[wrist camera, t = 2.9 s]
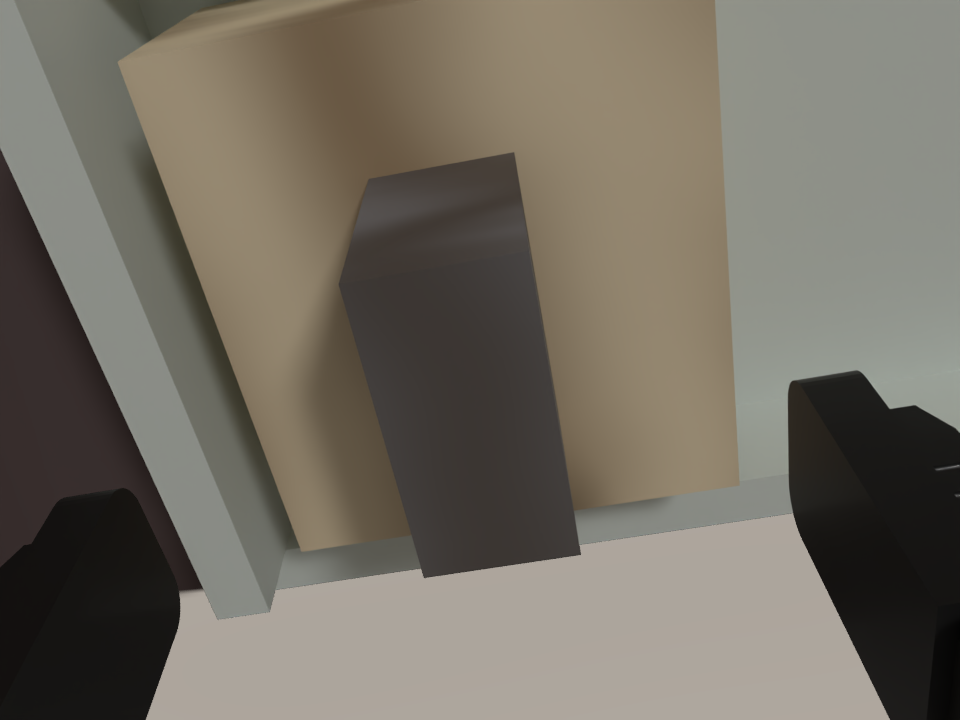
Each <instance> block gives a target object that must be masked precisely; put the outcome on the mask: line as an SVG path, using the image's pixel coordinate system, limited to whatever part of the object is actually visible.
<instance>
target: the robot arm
mask: <svg viewBox="0 0 960 720" xmlns="http://www.w3.org/2000/svg"><path fill="white" fill-rule="evenodd" d="M788 465H789V493H790V500H791V505H792V510H793V514H794V518H795V521H796V525H797V528H798V531H799V533H800V536H801V538H802V540H803V542H804V544H805V546H806V548H807V550H808V553H809V555H810V556H811V559H812V561H813V563H814V565H815V567H816V569H817V571H818V573H819V575H820V577H821V579H822V581H823V583H824V585H825V587H826V589H827V591H828V593H829V596H830V598H831V600H832V602H833V604H834V606H835V608H836V610H837V612H838V614H839V616H840V618H841V620H842V622H843V624H844V626H845V628H846V630H847V632H848V634H849V636H850V638H851V641H852V643H853V645H854V646H855V649H856V651H857V653H858V655H859V657H860V659H861V661H862V663H863V665H864V667H865V669H866V671H867V673H868V675H869V677H870V680H871V681H872V684H873V685H874V687H875V690H876V692H877V694H878V696H879V698H880V700H881V702H882V704H883V706H884V708H885V710H886V712H887V714H888V716H889V718H890V720H960V433H959V432H958V430H957V429H956V428H954V427H953V426H951V425H949V424H947V423H946V422H944V421H942V420H940V419H939V418H937V417H935V416H933V415H932V414H930V413H928V412H926V411H925V410H923V409H921V408H919V407H917V406H916V405H912V406H906V407H899V408H893V409H889V407H888V406H887V405H886V403H885V402H884V401H883V399H882V398H881V397H880V395H879V394H878V393H877V391H876V390H875V389H874V387H873V386H872V385H871V383H870V382H869V381H868V379H867V378H866V377H865V376H864V374H863V373H861V372H860V371H858V370H855V371H849V372H843V373H836V374H830V375H824V376H818V377H812V378H806V379H800V380H794V381H792V382H791V383H790V385H789V389H788ZM179 618H180V597H179V590H178V586H177V583H176V580H175V577H174V575H173V573H172V571H171V568H170V566H169V564H168V562H167V560H166V558H165V556H164V554H163V552H162V550H161V548H160V545H159V543H158V541H157V539H156V537H155V535H154V533H153V531H152V529H151V527H150V525H149V523H148V520H147V518H146V516H145V514H144V512H143V510H142V508H141V506H140V504H139V502H138V500H137V498H136V497H135V496H134V494H133V493H132V492H131V491H129V490H127V489H124V488H121V489H115V490H108V491H102V492H96V493H90V494H84V495H78V496H72V497H66V498H63V499H61V500H59V501H58V502H57V503H56V505H55V506H54V507H53V509H52V511H51V512H50V514H49V516H48V517H47V519H46V521H45V522H44V524H43V526H42V527H41V529H40V531H39V532H38V534H37V536H36V537H35V539H34V541H33V542H32V544H29V545H24V546H23V547H22V548H21V549H20V550H19V551H17V552H16V553H15V554H14V555H13V556H12V557H11V558H10V559H9V560H8V561H7V562H6V563H5V564H4V565H2V566H1V567H0V720H146V717H147V714H148V711H149V709H150V706H151V703H152V700H153V697H154V694H155V692H156V689H157V686H158V683H159V680H160V678H161V675H162V672H163V669H164V666H165V663H166V660H167V658H168V655H169V652H170V649H171V646H172V643H173V641H174V638H175V635H176V632H177V629H178V625H179Z"/></svg>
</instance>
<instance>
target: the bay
mask: <svg viewBox="0 0 960 720" xmlns="http://www.w3.org/2000/svg"><path fill="white" fill-rule="evenodd" d="M234 1H238V0H0V148H1V151H2V153H3V155H4V157H5V159H6V162H7V164H8V166H9V168H10V170H11V172H12V175H13V177H14V179H15V181H16V183H17V185H18V188H19V190H20V192H21V194H22V196H23V198H24V201H25V203H26V205H27V207H28V209H29V211H30V214H31V216H32V218H33V220H34V222H35V224H36V227H37V229H38V231H39V233H40V235H41V237H42V240H43V242H44V244H45V246H46V248H47V251H48V253H49V255H50V257H51V259H52V261H53V264H54V266H55V268H56V270H57V272H58V274H59V277H60V279H61V281H62V283H63V285H64V287H65V290H66V292H67V294H68V296H69V298H70V300H71V303H72V305H73V307H74V309H75V311H76V313H77V316H78V318H79V320H80V322H81V324H82V326H83V329H84V331H85V333H86V335H87V337H88V340H89V342H90V344H91V346H92V348H93V350H94V353H95V355H96V357H97V359H98V361H99V363H100V366H101V368H102V370H103V372H104V374H105V376H106V379H107V381H108V383H109V385H110V387H111V389H112V392H113V394H114V396H115V398H116V400H117V402H118V405H119V407H120V409H121V411H122V413H123V416H124V418H125V420H126V422H127V424H128V426H129V429H130V431H131V433H132V435H133V437H134V439H135V442H136V444H137V446H138V448H139V450H140V452H141V455H142V457H143V459H144V461H145V463H146V465H147V468H148V470H149V472H150V474H151V476H152V478H153V481H154V483H155V485H156V487H157V489H158V491H159V494H160V496H161V498H162V500H163V502H164V505H165V507H166V509H167V511H168V513H169V515H170V518H171V520H172V522H173V524H174V526H175V528H176V531H177V533H178V535H179V537H180V539H181V541H182V544H183V546H184V548H185V550H186V552H187V554H188V557H189V559H190V561H191V563H192V565H193V567H194V570H195V572H196V574H197V576H198V578H199V581H200V583H201V585H202V587H203V589H204V591H205V594H206V596H207V598H208V600H209V602H210V604H211V607H212V609H213V611H214V613H215V615H216V617H217V619H225V618H233V617H239V616H246V615H252V614H259V613H266V612H270V609H271V605H272V601H273V597H274V593H275V590H279V589H285V588H292V587H299V586H306V585H313V584H319V583H326V582H333V581H339V580H346V579H353V578H359V577H367V576H373V575H380V574H387V573H394V572H400V571H407V570H414V569H420V568H421V566H420V563H419V559H418V556H417V552H416V549H415V545H414V542H413V539H412V535H410V536H403V537H397V538H390V539H384V540H377V541H370V542H364V543H357V544H351V545H344V546H337V547H331V548H324V549H318V550H311V551H304V552H301V549H300V546H299V544H298V541H297V538H296V536H295V533H294V530H293V528H292V525H291V522H290V520H289V517H288V514H287V512H286V509H285V507H284V504H283V501H282V499H281V496H280V493H279V491H278V488H277V485H276V483H275V480H274V477H273V475H272V472H271V469H270V467H269V464H268V461H267V459H266V456H265V453H264V451H263V448H262V445H261V443H260V440H259V437H258V435H257V432H256V429H255V427H254V424H253V421H252V419H251V416H250V413H249V411H248V408H247V405H246V403H245V400H244V397H243V395H242V392H241V389H240V387H239V384H238V381H237V379H236V376H235V373H234V371H233V368H232V365H231V363H230V360H229V358H228V355H227V352H226V350H225V347H224V344H223V342H222V339H221V336H220V334H219V331H218V328H217V326H216V323H215V320H214V318H213V315H212V312H211V310H210V307H209V304H208V302H207V299H206V296H205V294H204V291H203V288H202V286H201V283H200V280H199V278H198V275H197V272H196V270H195V267H194V264H193V262H192V259H191V256H190V254H189V251H188V248H187V246H186V243H185V240H184V238H183V235H182V232H181V230H180V227H179V224H178V222H177V219H176V216H175V214H174V211H173V208H172V206H171V203H170V201H169V198H168V195H167V193H166V190H165V187H164V185H163V182H162V179H161V177H160V174H159V171H158V169H157V166H156V163H155V161H154V158H153V155H152V153H151V150H150V147H149V145H148V142H147V139H146V137H145V134H144V131H143V129H142V126H141V123H140V121H139V118H138V115H137V113H136V110H135V107H134V105H133V102H132V99H131V97H130V94H129V91H128V89H127V86H126V83H125V81H124V78H123V75H122V73H121V70H120V67H119V65H118V61H119V60H121V59H123V58H124V57H126V56H127V55H129V54H130V53H132V52H134V51H135V50H137V49H138V48H140V47H141V46H143V45H144V44H146V43H148V42H149V41H151V40H152V39H154V38H155V37H157V36H158V35H160V34H162V33H163V32H165V31H166V30H168V29H169V28H171V27H173V26H174V25H176V24H177V23H179V22H180V21H182V20H183V19H185V18H187V17H188V16H190V15H191V14H193V13H194V12H196V11H197V10H199V9H201V8H204V7H209V6H214V5H219V4H224V3H229V2H234ZM715 11H716V31H717V50H718V70H719V89H720V109H721V129H722V148H723V168H724V188H725V207H726V227H727V247H728V266H729V286H730V305H731V325H732V345H733V364H734V384H735V404H736V423H737V443H738V463H739V482H740V486H733V487H727V488H720V489H714V490H707V491H700V492H694V493H687V494H681V495H674V496H667V497H661V498H654V499H648V500H641V501H634V502H628V503H621V504H615V505H608V506H601V507H595V508H588V509H582V510H575V511H574V514H575V521H576V527H577V533H578V540H579V545H582V544H589V543H596V542H602V541H609V540H615V539H623V538H629V537H636V536H643V535H649V534H656V533H663V532H670V531H676V530H683V529H690V528H696V527H704V526H710V525H716V524H724V523H730V522H737V521H744V520H751V519H757V518H764V517H771V516H778V515H784V514H791V513H793V510H792V505H791V500H790V493H789V465H788V389H789V385H790V383H791V382H792V381H794V380H800V379H806V378H812V377H818V376H824V375H830V374H836V373H843V372H849V371H855V370H858V371H860V372H861V373H863V374H864V376H865V377H866V378H867V379H868V381H869V382H870V383H871V385H872V386H873V387H874V389H875V390H876V391H877V393H878V394H879V395H880V397H881V398H882V399H883V401H884V402H885V403H886V405H887V406H888V407H889V409H893V408H899V407H906V406H912V405H916V406H917V407H919V408H921V409H923V410H925V411H926V412H928V413H930V414H932V415H933V416H935V417H937V418H939V419H940V420H942V421H944V422H946V423H947V424H949V425H951V426H953V427H954V428H956V429H957V430H958V432H959V433H960V0H715Z"/></svg>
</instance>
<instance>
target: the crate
mask: <svg viewBox="0 0 960 720" xmlns="http://www.w3.org/2000/svg"><path fill="white" fill-rule="evenodd" d="M118 65H119V67H120V70H121V73H122V75H123V78H124V81H125V83H126V86H127V89H128V91H129V94H130V97H131V99H132V102H133V105H134V107H135V110H136V113H137V115H138V118H139V121H140V123H141V126H142V129H143V131H144V134H145V137H146V139H147V142H148V145H149V147H150V150H151V153H152V155H153V158H154V161H155V163H156V166H157V169H158V171H159V174H160V177H161V179H162V182H163V185H164V187H165V190H166V193H167V195H168V198H169V201H170V203H171V206H172V208H173V211H174V214H175V216H176V219H177V222H178V224H179V227H180V230H181V232H182V235H183V238H184V240H185V243H186V246H187V248H188V251H189V254H190V256H191V259H192V262H193V264H194V267H195V270H196V272H197V275H198V278H199V280H200V283H201V286H202V288H203V291H204V294H205V296H206V299H207V302H208V304H209V307H210V310H211V312H212V315H213V318H214V320H215V323H216V326H217V328H218V331H219V334H220V336H221V339H222V342H223V344H224V347H225V350H226V352H227V355H228V358H229V360H230V363H231V365H232V368H233V371H234V373H235V376H236V379H237V381H238V384H239V387H240V389H241V392H242V395H243V397H244V400H245V403H246V405H247V408H248V411H249V413H250V416H251V419H252V421H253V424H254V427H255V429H256V432H257V435H258V437H259V440H260V443H261V445H262V448H263V451H264V453H265V456H266V459H267V461H268V464H269V467H270V469H271V472H272V475H273V477H274V480H275V483H276V485H277V488H278V491H279V493H280V496H281V499H282V501H283V504H284V507H285V509H286V512H287V514H288V517H289V520H290V522H291V525H292V528H293V530H294V533H295V536H296V538H297V541H298V544H299V546H300V549H301V552H304V551H311V550H318V549H324V548H331V547H337V546H344V545H351V544H357V543H364V542H370V541H377V540H384V539H390V538H397V537H403V536H410V535H412V539H413V542H414V545H415V549H416V552H417V556H418V559H419V563H420V566H421V569H422V573H423V576H424V578H427V577H433V576H441V575H447V574H454V573H460V572H467V571H474V570H481V569H488V568H494V567H502V566H508V565H515V564H521V563H529V562H535V561H542V560H549V559H556V558H562V557H569V556H576V555H581V552H580V546H579V540H578V533H577V527H576V521H575V514H574V511H575V510H582V509H588V508H595V507H601V506H608V505H615V504H621V503H628V502H634V501H641V500H648V499H654V498H661V497H667V496H674V495H681V494H687V493H694V492H700V491H707V490H714V489H720V488H727V487H733V486H740V482H739V463H738V443H737V423H736V404H735V384H734V364H733V345H732V325H731V305H730V286H729V266H728V247H727V227H726V207H725V188H724V168H723V148H722V129H721V109H720V89H719V70H718V50H717V31H716V11H715V0H238V1H234V2H229V3H224V4H219V5H214V6H209V7H204V8H201V9H199V10H197V11H196V12H194V13H193V14H191V15H190V16H188V17H187V18H185V19H183V20H182V21H180V22H179V23H177V24H176V25H174V26H173V27H171V28H169V29H168V30H166V31H165V32H163V33H162V34H160V35H158V36H157V37H155V38H154V39H152V40H151V41H149V42H148V43H146V44H144V45H143V46H141V47H140V48H138V49H137V50H135V51H134V52H132V53H130V54H129V55H127V56H126V57H124V58H123V59H121V60H119V61H118Z"/></svg>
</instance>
